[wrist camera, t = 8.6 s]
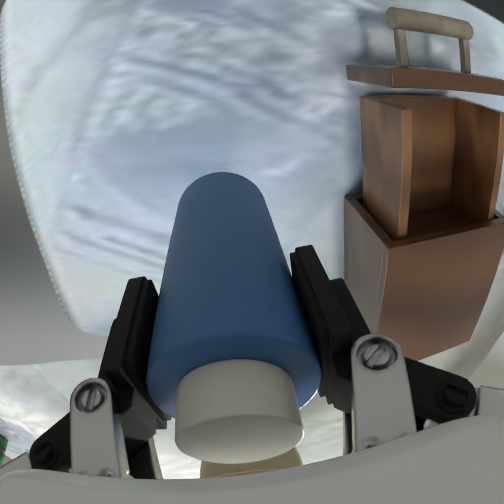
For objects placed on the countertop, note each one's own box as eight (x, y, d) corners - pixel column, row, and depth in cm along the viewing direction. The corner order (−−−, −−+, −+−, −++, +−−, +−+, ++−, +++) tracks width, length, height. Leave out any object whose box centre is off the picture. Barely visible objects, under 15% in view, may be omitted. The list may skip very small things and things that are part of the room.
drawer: (337, 12, 17) (381, -3, 12) (455, 26, 17) (510, 28, 12) (353, 223, 27) (387, 267, 21) (453, 205, 27) (494, 240, 21)
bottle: (167, 182, 15) (102, 405, 5) (259, 163, 15) (345, 372, 5) (190, 258, 18) (179, 476, 8) (271, 243, 18) (333, 455, 8)
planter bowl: (183, 436, 47) (183, 492, 38) (223, 395, 41) (228, 466, 32) (262, 448, 53) (269, 497, 44) (314, 411, 46) (329, 469, 37)
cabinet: (343, 196, 27) (387, 249, 19) (454, 180, 27) (510, 221, 19) (342, 316, 34) (367, 376, 27) (434, 291, 35) (469, 340, 27)
